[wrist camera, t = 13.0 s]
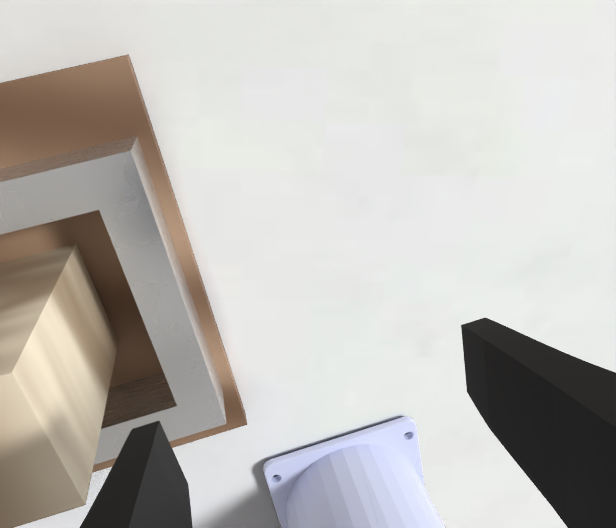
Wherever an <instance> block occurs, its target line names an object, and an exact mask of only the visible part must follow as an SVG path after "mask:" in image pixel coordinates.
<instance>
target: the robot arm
mask: <svg viewBox="0 0 616 528" xmlns="http://www.w3.org/2000/svg"><path fill="white" fill-rule="evenodd" d="M461 327H462V339H463V350H464V361H465V373H466V384H467V392H468V394H469V396H470V397H471V399H472V401H473V402H474V404H475V406H476V407H477V409H478V411H479V412H480V414H481V416H482V417H483V419H484V420H485V422H486V424H487V425H488V427H489V428H490V430H491V431H492V432H493V433H494V435H495V436H496V437H497V438H498V440H499V441H500V442H501V444H502V445H503V446H504V447H505V449H506V450H507V451H508V452H509V454H510V455H511V456H512V457H513V459H514V460H515V461H516V462H517V464H518V465H519V466H520V467H521V468H522V470H523V471H524V472H525V473H526V475H527V476H528V477H529V478H530V480H531V481H532V482H533V483H534V485H535V486H536V487H537V488H538V490H539V491H540V492H541V493H542V495H543V496H544V497H545V498H546V499H547V501H548V502H549V503H550V504H551V506H552V507H553V508H554V510H555V511H556V512H557V514H558V515H559V516H560V518H561V519H562V520H563V522H564V523H565V524H566V526H567V527H568V528H616V373H615V372H612V371H609V370H607V369H604V368H601V367H599V366H596V365H593V364H591V363H588V362H586V361H583V360H581V359H578V358H576V357H573V356H571V355H568V354H566V353H564V352H561V351H559V350H557V349H554V348H552V347H550V346H548V345H545V344H543V343H541V342H539V341H536V340H534V339H532V338H530V337H528V336H525V335H523V334H521V333H519V332H517V331H515V330H512V329H510V328H508V327H506V326H504V325H501V324H499V323H497V322H495V321H492V320H490V319H487V318H483V319H479V320H476V321H473V322H470V323H467V324H463V325H461ZM407 432H409V433H408V434H406V433H407ZM405 434H406V435H405ZM263 471H264V476H265V479H266V482H267V485H268V488H269V491H270V494H271V497H272V500H273V503H274V506H275V509H276V512H277V516H278V519H279V522H280V525H281V528H446V527H445V525H444V523H443V522H442V520H441V518H440V516H439V514H438V512H437V510H436V508H435V507H434V505H433V503H432V501H431V499H430V497H429V495H428V493H427V491H426V490H425V485H424V478H423V470H422V463H421V456H420V448H419V441H418V434H417V426H416V423H415V421H414V420H413V418H411V417H409V416H406V417H401V418H398V419H395V420H392V421H389V422H386V423H383V424H380V425H376V426H373V427H370V428H367V429H364V430H361V431H358V432H354V433H351V434H348V435H345V436H342V437H339V438H336V439H333V440H329V441H326V442H323V443H320V444H317V445H314V446H311V447H307V448H304V449H301V450H298V451H295V452H292V453H289V454H286V455H282V456H279V457H276V458H273V459H270V460H268V461H267V462H265V463H264V465H263ZM274 475H278V476H276V477H272V476H274ZM80 528H192V518H191V507H190V498H189V489H188V483H187V481H186V479H185V476H184V474H183V472H182V470H181V468H180V465H179V463H178V461H177V459H176V456H175V454H174V452H173V450H172V447H171V445H170V443H169V441H168V439H167V436H166V434H165V432H164V430H163V427H162V425H161V423H160V421H156V422H152V423H149V424H146V425H143V426H140V427H137V428H133V429H132V430H131V432H130V433H129V435H128V437H127V439H126V441H125V443H124V445H123V447H122V449H121V451H120V453H119V455H118V457H117V459H116V461H115V463H114V465H113V467H112V469H111V471H110V473H109V475H108V477H107V479H106V480H105V482H104V484H103V486H102V488H101V490H100V492H99V494H98V495H97V497H96V499H95V501H94V503H93V505H92V507H91V508H90V510H89V512H88V514H87V516H86V518H85V519H84V521H83V523H82V525H81V526H80Z"/></svg>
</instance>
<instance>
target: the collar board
mask: <svg viewBox="0 0 616 528" xmlns="http://www.w3.org/2000/svg"><path fill="white" fill-rule="evenodd" d="M72 244H76V245H77V247H78V249H79V252H80V254H81V256H82V259H83V261H84V263H85V266H86V268H87V270H88V273H89V275H90V277H91V280H92V282H93V284H94V287H95V289H96V291H97V294H98V296H99V298H100V301H101V303H102V305H103V308H104V310H105V312H106V315H107V317H108V319H109V322H110V324H111V326H112V329H113V331H114V333H115V336H116V338H117V340H118V347H117V352H116V357H115V362H114V367H113V372H112V377H111V381H110V386H109V391H108V396H107V401H106V406H105V411H104V416H103V421H102V426H101V431H100V436H99V441H98V446H97V451H96V455H95V460H94V465H93V470H92V472H96V471H99V470H102V469H105V468H108V467H112V466H113V465H114V463H115V461H116V459H117V457H118V455H119V453H120V451H121V449H122V447H123V445H124V443H125V441H126V439H127V437H128V435H129V433H130V432H131V430H132V429H133V428H137V427H140V426H143V425H146V424H149V423H152V422H156V421H160V423H161V425H162V427H163V430H164V432H165V434H166V436H167V439H168V441H169V443H170V445H171V447H172V448H173V447H176V446H180V445H183V444H186V443H189V442H192V441H196V440H199V439H202V438H205V437H209V436H212V435H215V434H218V433H222V432H225V431H228V430H231V429H234V428H238V427H241V426H244V425H247V420H246V414H245V411H244V408H243V404H242V401H241V398H240V395H239V392H238V389H237V386H236V383H235V380H234V377H233V374H232V371H231V368H230V364H229V361H228V358H227V355H226V352H225V349H224V346H223V343H222V340H221V337H220V334H219V331H218V328H217V324H216V321H215V318H214V315H213V312H212V309H211V306H210V303H209V300H208V297H207V294H206V291H205V287H204V284H203V281H202V278H201V275H200V272H199V269H198V266H197V263H196V260H195V257H194V254H193V251H192V247H191V244H190V241H189V238H188V235H187V232H186V229H185V226H184V223H183V220H182V217H181V214H180V211H179V207H178V204H177V201H176V198H175V195H174V192H173V189H172V186H171V183H170V180H169V177H168V174H167V171H166V167H165V164H164V161H163V158H162V155H161V152H160V149H159V146H158V143H157V140H156V137H155V134H154V131H153V127H152V124H151V121H150V118H149V115H148V112H147V109H146V106H145V103H144V100H143V97H142V94H141V91H140V87H139V84H138V81H137V78H136V75H135V72H134V69H133V66H132V63H131V60H130V57H129V55H125V56H120V57H116V58H111V59H107V60H102V61H97V62H93V63H88V64H84V65H79V66H75V67H70V68H66V69H61V70H57V71H52V72H48V73H43V74H39V75H34V76H30V77H25V78H21V79H16V80H12V81H7V82H3V83H0V263H2V262H6V261H9V260H13V259H17V258H21V257H25V256H29V255H33V254H37V253H41V252H45V251H48V250H52V249H56V248H60V247H64V246H68V245H72Z"/></svg>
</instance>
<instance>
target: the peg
mask: <svg viewBox="0 0 616 528" xmlns="http://www.w3.org/2000/svg"><path fill="white" fill-rule="evenodd" d="M117 347H118V340H117V338H116V336H115V333H114V331H113V329H112V326H111V324H110V322H109V319H108V317H107V315H106V312H105V310H104V308H103V305H102V303H101V301H100V298H99V296H98V294H97V291H96V289H95V287H94V284H93V282H92V280H91V277H90V275H89V273H88V270H87V268H86V266H85V263H84V261H83V259H82V256H81V254H80V252H79V249H78V247H77V245H76V244H72V245H68V246H64V247H60V248H56V249H52V250H48V251H45V252H41V253H37V254H33V255H29V256H25V257H21V258H17V259H13V260H9V261H6V262H2V263H0V528H14V527H17V526H20V525H23V524H26V523H30V522H33V521H36V520H39V519H42V518H46V517H49V516H52V515H55V514H58V513H61V512H65V511H68V510H71V509H74V508H77V507H81V506H84V505H86V500H87V495H88V490H89V485H90V480H91V475H92V470H93V465H94V460H95V455H96V451H97V446H98V441H99V436H100V431H101V426H102V421H103V416H104V411H105V406H106V401H107V396H108V391H109V386H110V381H111V377H112V372H113V367H114V362H115V357H116V352H117Z"/></svg>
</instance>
